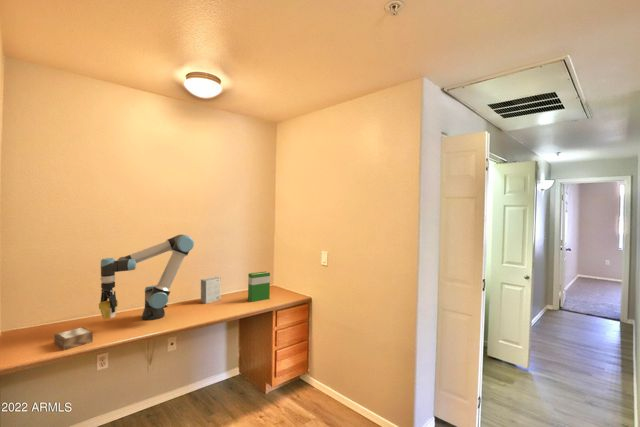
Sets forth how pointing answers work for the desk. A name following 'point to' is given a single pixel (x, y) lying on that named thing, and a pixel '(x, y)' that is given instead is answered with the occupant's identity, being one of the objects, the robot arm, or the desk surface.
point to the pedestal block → (73, 338)
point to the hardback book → (258, 286)
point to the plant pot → (106, 309)
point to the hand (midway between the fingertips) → (108, 315)
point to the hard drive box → (210, 289)
